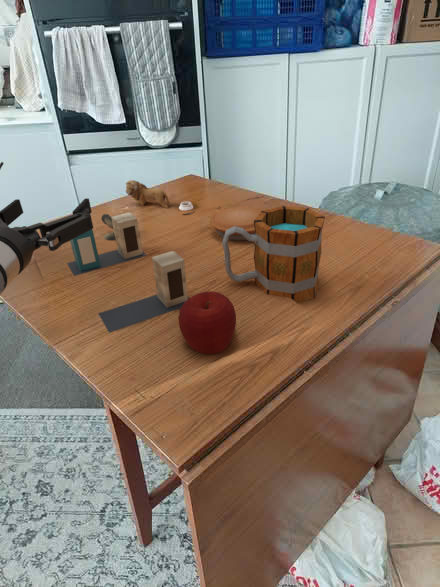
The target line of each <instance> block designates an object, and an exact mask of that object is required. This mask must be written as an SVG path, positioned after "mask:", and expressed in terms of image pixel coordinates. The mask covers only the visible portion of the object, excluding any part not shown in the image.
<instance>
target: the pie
mask: <svg viewBox="0 0 440 587" xmlns="http://www.w3.org/2000/svg"><path fill="white" fill-rule="evenodd" d="M261 211H262V210H260V209H258V208H256V207H251V206H232V207H227V208H224V209H221V210H219V211H217V212H215V213H214V214H212V215H211V217H210V219H209V222H210V225H211V226H212V227H213V228H214V229H215V231H216V232H217V233H218V234H219V236H220V237H221V238H222V239H223V238H224V235H225V232H226V230H228V229H230V228H232V227H234V226H236V227H240V228H243V229H244V230H245V231H247V232H248V233H249V234H251V235H255V227H254V220H255V219H256V217H257V216H258V215H259V213H260V212H261ZM228 241H235V242H244V241H248V240H247V239H246V238H244V237H243V236H242V235H241V234H238V233H234V234H232V235H230V236H229V238H228Z"/></svg>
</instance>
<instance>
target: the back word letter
mask: <svg viewBox="0 0 440 587" xmlns="http://www.w3.org/2000/svg"><path fill="white" fill-rule="evenodd" d="M111 218H112V223H113V228H114V229H113V232H114V233H115V238H116V239H115V243H116V248H117V249H116V250H118V252H119V254H120V255H121V256H122V257H123V258H124V259H127V258H131V257H134V256H138V255H141V254H143V253H142V251H143V247H142V240H141V234H140V228H139V222H138V217H136V216H135V215H134V214H133V213H131V212H129V211H128V212H125V213H122V214H118V215H113V216H111Z"/></svg>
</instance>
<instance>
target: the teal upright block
mask: <svg viewBox="0 0 440 587" xmlns="http://www.w3.org/2000/svg"><path fill="white" fill-rule="evenodd" d="M93 229H94V228H93ZM93 229H91V230H89V231H87V232H85V233H84V234H82V235H80V236H78V237H76V238H74V239H72V240H70V241H69V242H70V245H71V249H72V254H73V257H74V261H75V262H76V264H77V266H78V267H79V269H80V271H83V270H87V269H91V268H94V267H98V266H100V261H99V257H98V255H99V253H98V247H97V243H96V239H95V235H94V230H93Z"/></svg>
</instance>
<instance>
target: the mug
mask: <svg viewBox="0 0 440 587" xmlns="http://www.w3.org/2000/svg"><path fill="white" fill-rule="evenodd" d="M260 211H261V212H260V213H259V215H258V216H257V217H256V219H255V220H254V227H255V235H251V234H249V233H248V232H247V231H245V230H244V229H243V228H240V227H236V226H234V227H232V228H230V229H228V230H226V232H225V235H224V238H223V237H222V241H221V243H222V248H223V255H224V256H223V257H224V267H225V272H226V274H227V275H228V277H229V279H230V280H231V281H234V282H237V283H241V282H244V281H249V280H252V279H254V284H256V286H258V287H259V288H260V289H261V290H262V291H263V292H264V293H265V294H266V295H270V296H275V297H282V298H288V299H291V300H293V301H294V302H295V303H297V304H300V303H303V302H306V301H309V300H313V299H315V298H316V295H317V291H318V288H319V269H320V262H321V257H322V236H323V228H324V223H325V218H326V217H325V216H323V215H322V214H320V213H318V212H316V211H315V210H313V209H311V208H309V207H299V206H287V205H282V206H278V207H274V208H268V209H264V210H260ZM234 233H238V234H241V235H242V236H243V237H244V238H246V239H247V240H246V241H248V242H250V243H251V242H253V243H254V252H253V260H254V270H252V271H247V272H244V273H241V274H236V273H233V270H232V263H231V261H232V260H231V252H230V246H229V240H228V238H229V236H230V235H232V234H234Z"/></svg>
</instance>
